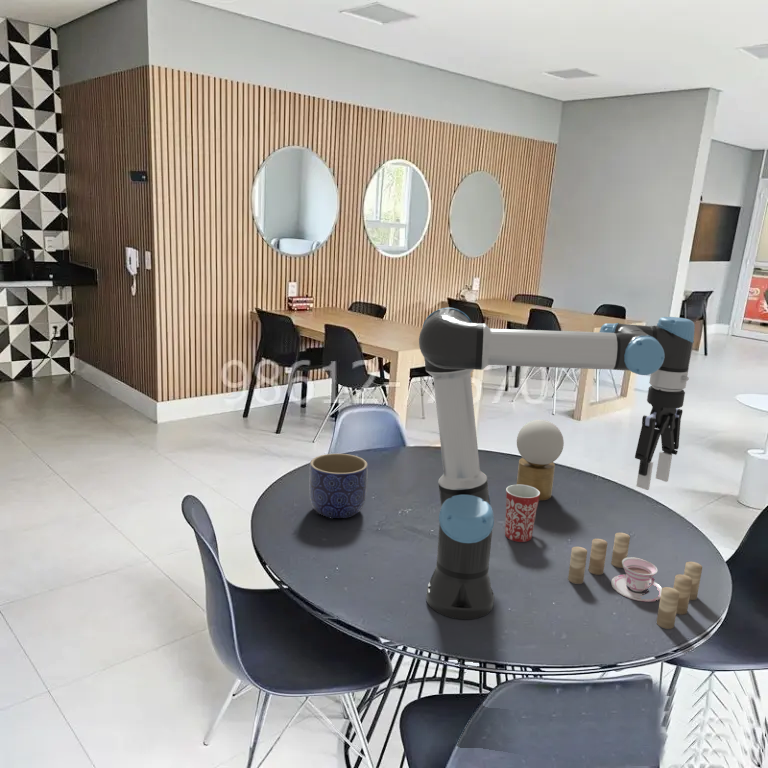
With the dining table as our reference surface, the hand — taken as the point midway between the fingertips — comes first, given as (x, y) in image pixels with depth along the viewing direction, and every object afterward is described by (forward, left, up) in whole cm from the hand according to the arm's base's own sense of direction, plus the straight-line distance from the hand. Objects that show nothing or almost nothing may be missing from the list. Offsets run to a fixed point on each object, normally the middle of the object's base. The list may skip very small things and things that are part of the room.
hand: (652, 483), depth 158 cm
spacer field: (0, 0, -27) cm, 27 cm away
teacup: (+1, 0, -28) cm, 28 cm away
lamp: (+26, +50, -27) cm, 63 cm away
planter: (-32, +76, -27) cm, 87 cm away
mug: (+1, +35, -27) cm, 44 cm away
